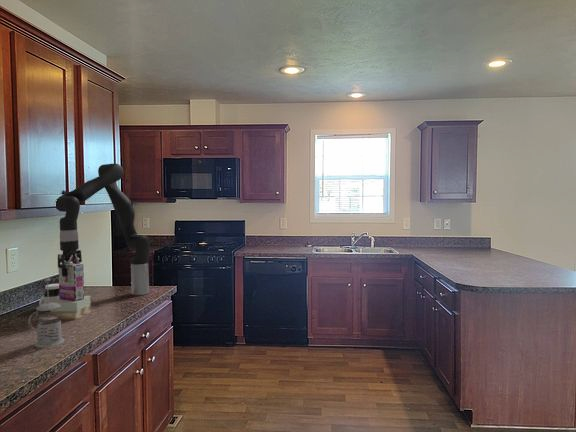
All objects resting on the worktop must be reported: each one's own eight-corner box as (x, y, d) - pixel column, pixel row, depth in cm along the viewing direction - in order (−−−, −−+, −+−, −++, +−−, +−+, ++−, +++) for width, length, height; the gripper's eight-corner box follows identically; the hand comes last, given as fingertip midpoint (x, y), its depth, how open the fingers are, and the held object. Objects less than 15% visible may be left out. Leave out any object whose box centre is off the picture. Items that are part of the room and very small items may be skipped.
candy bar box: (85, 298, 186) (84, 263, 186) (75, 301, 182) (74, 265, 181) (68, 296, 191) (67, 262, 190) (58, 299, 186) (57, 264, 186)
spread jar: (58, 310, 194) (57, 287, 193) (33, 312, 192) (32, 288, 192) (68, 304, 206) (67, 281, 205) (44, 305, 204) (43, 282, 203)
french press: (61, 345, 149) (58, 279, 147) (25, 349, 146) (22, 281, 144) (67, 336, 158) (65, 274, 157) (34, 340, 155) (31, 276, 153)
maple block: (67, 312, 193) (67, 303, 193) (91, 312, 192) (91, 304, 192) (50, 319, 181) (50, 311, 181) (75, 320, 180) (75, 311, 180)
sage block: (65, 304, 192) (65, 295, 192) (90, 304, 192) (90, 295, 192) (50, 311, 180) (50, 302, 180) (77, 311, 180) (76, 302, 180)
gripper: (70, 237, 192) (72, 271, 193) (51, 241, 178) (52, 277, 179) (85, 237, 191) (87, 271, 192) (67, 241, 177) (68, 277, 178)
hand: (70, 274), depth 186 cm, fingers open, 8 cm apart
